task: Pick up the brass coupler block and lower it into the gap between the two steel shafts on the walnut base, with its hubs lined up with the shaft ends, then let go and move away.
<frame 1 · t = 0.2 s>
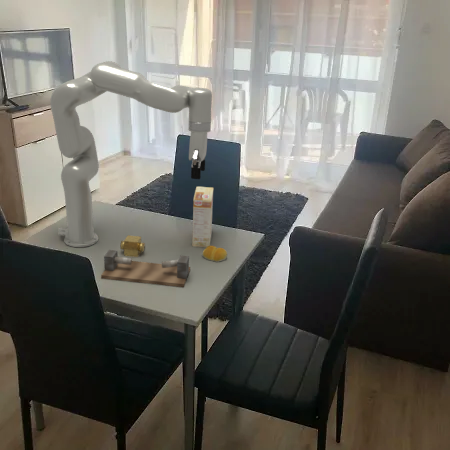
hand: (198, 174, 175), 31 cm above the table, tool pointing down, fingers open, 9 cm apart
bread roll: (214, 257, 185), on the table
brass coupler: (132, 253, 184), on the table
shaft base: (146, 274, 170), on the table
coffeecake box: (202, 239, 199), on the table
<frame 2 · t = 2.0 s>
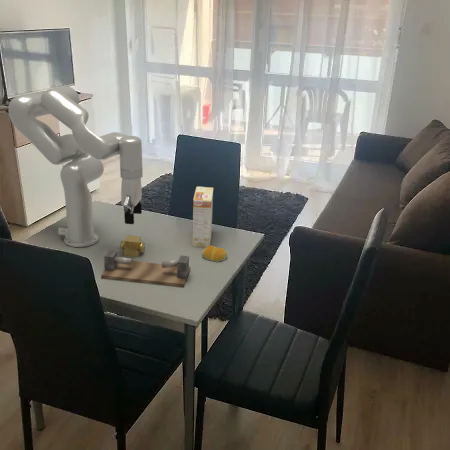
hand: (133, 218, 178), 14 cm above the table, tool pointing down, fingers open, 9 cm apart
nothing on the table moved.
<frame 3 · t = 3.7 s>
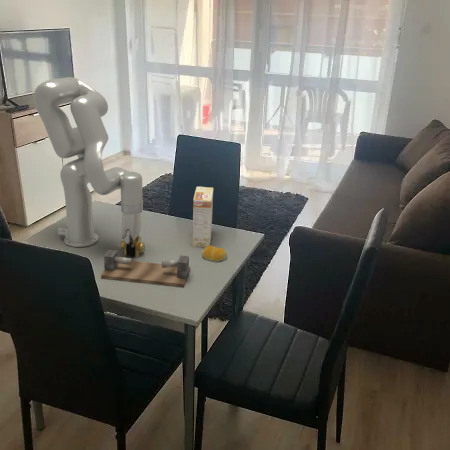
hand: (133, 252, 184), 0 cm above the table, tool pointing down, fingers closed on brass coupler, 5 cm apart
brass coupler: (132, 253, 184), on the table, touching gripper
everything else where it was.
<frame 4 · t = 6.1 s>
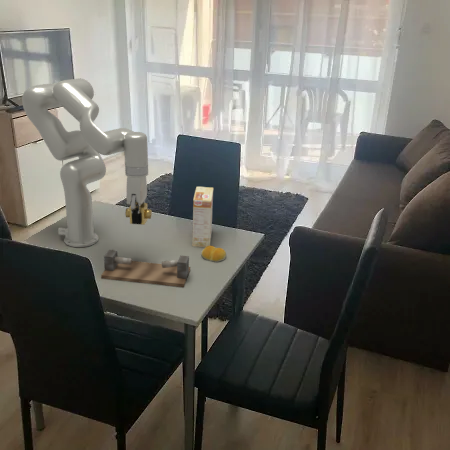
hand: (138, 220, 172), 16 cm above the table, tool pointing down, fingers closed on brass coupler, 5 cm apart
brass coupler: (139, 221, 172), point 16 cm above the table, touching gripper
everything else where it was.
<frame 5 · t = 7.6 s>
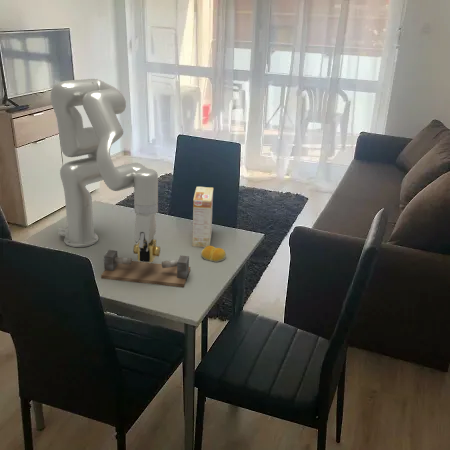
hand: (146, 256, 168), 7 cm above the table, tool pointing down, fingers closed on brass coupler, 5 cm apart
brass coupler: (147, 258, 168), point 6 cm above the table, touching gripper
everything else where it was.
when the fingers open (3 cm above the table, at t = 8.7 s): brass coupler drops 1 cm, resting on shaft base.
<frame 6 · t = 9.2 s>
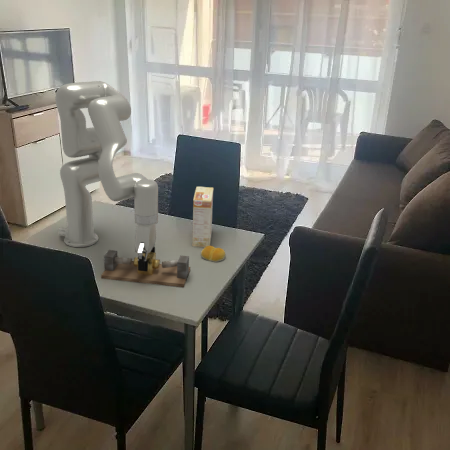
hand: (146, 263, 169), 4 cm above the table, tool pointing down, fingers open, 9 cm apart
brass coupler: (146, 270, 170), point 1 cm above the table, touching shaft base
everything else where it was.
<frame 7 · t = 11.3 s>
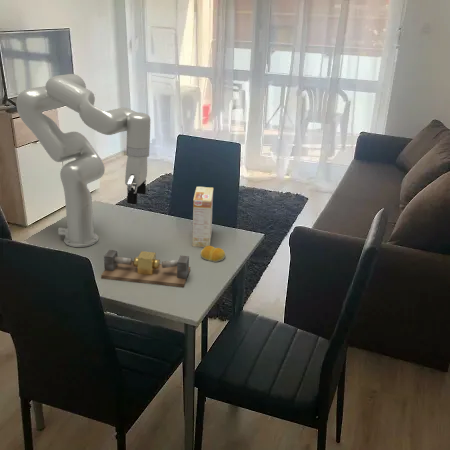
hand: (136, 198, 173), 23 cm above the table, tool pointing down, fingers open, 9 cm apart
nothing on the table moved.
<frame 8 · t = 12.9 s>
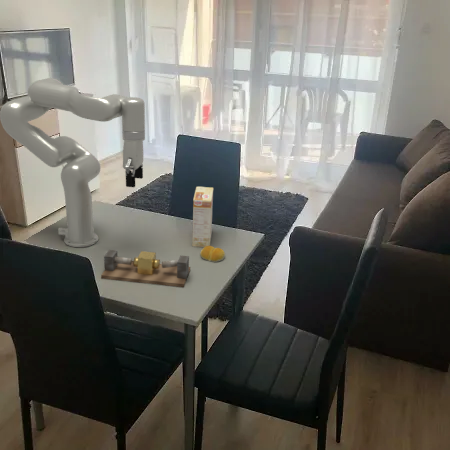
hand: (134, 182, 177), 26 cm above the table, tool pointing down, fingers open, 9 cm apart
nothing on the table moved.
at the end: brass coupler 0.1 cm off-centre on the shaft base, point 1.2 cm above the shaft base's base; brass coupler tilted 0°; the gripper is holding nothing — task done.
